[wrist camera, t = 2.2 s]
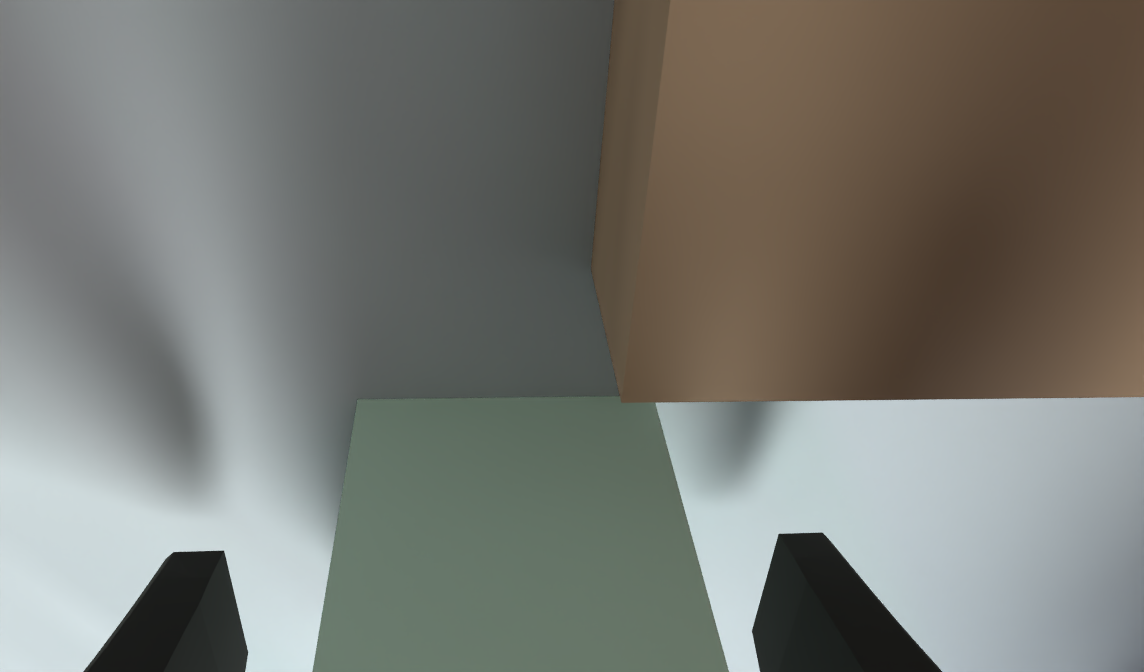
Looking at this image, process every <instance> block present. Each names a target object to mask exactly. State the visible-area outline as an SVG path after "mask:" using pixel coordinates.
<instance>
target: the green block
mask: <svg viewBox="0 0 1144 672" xmlns="http://www.w3.org/2000/svg"><path fill="white" fill-rule="evenodd" d="M313 672H729V671H728V667H727V663H726V660H725V656H724V652H723V649H722V645H721V641H720V638H719V634H718V630H717V627H716V623H715V619H714V616H713V612H712V609H711V605H710V601H709V598H708V594H707V590H706V587H705V583H704V579H703V576H702V572H701V568H700V565H699V561H698V558H697V554H696V550H695V547H694V543H693V539H692V536H691V532H690V528H689V525H688V521H687V517H686V514H685V510H684V506H683V503H682V499H681V496H680V492H679V488H678V485H677V481H676V477H675V474H674V470H673V466H672V463H671V459H670V455H669V452H668V448H667V445H666V441H665V437H664V434H663V430H662V426H661V423H660V419H659V415H658V412H657V408H656V404H655V402H648V403H621V400H620V396H586V397H503V398H419V399H357V405H356V411H355V417H354V423H353V429H352V436H351V442H350V448H349V454H348V460H347V466H346V472H345V478H344V484H343V490H342V496H341V502H340V508H339V514H338V521H337V527H336V533H335V539H334V545H333V551H332V557H331V563H330V569H329V575H328V581H327V587H326V593H325V599H324V605H323V612H322V618H321V624H320V630H319V636H318V642H317V648H316V654H315V660H314V666H313Z"/></svg>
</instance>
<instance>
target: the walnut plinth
mask: <svg viewBox="0 0 1144 672" xmlns="http://www.w3.org/2000/svg"><path fill="white" fill-rule="evenodd" d="M591 272H592V276H593V281H594V285H595V289H596V294H597V298H598V303H599V307H600V311H601V316H602V320H603V325H604V329H605V334H606V338H607V342H608V347H609V351H610V356H611V360H612V364H613V369H614V373H615V378H616V382H617V386H618V391H619V395H620V400H621V403H648V402H737V401H827V400H916V399H1006V398H1095V397H1144V0H615V1H614V12H613V23H612V35H611V46H610V57H609V69H608V80H607V91H606V103H605V114H604V125H603V137H602V148H601V159H600V171H599V182H598V194H597V205H596V216H595V228H594V239H593V250H592V262H591Z"/></svg>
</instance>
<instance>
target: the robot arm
mask: <svg viewBox="0 0 1144 672" xmlns="http://www.w3.org/2000/svg"><path fill="white" fill-rule="evenodd" d="M752 633H753V638H754V643H755V648H756V653H757V658H758V663H759V668H760V672H942V671H941V670H940V669H939V667H938V666H937V665H936V664H935V663H934V662H933V661H932V660H931V659H930V657H929V656H928V655H927V654H926V653H925V652H924V651H923V650H922V649H921V648H920V646H919V645H918V644H917V643H916V642H915V641H914V640H913V639H912V637H911V636H910V635H909V634H908V633H907V632H906V631H905V629H904V628H903V627H902V626H901V625H900V624H899V623H898V621H897V620H896V619H895V618H894V617H893V616H892V614H891V613H890V612H889V611H888V610H887V608H886V607H885V606H884V605H883V604H882V603H881V601H880V600H879V599H878V598H877V597H876V596H875V594H874V593H873V592H872V591H871V590H870V588H869V587H868V586H867V585H866V584H865V582H864V581H863V580H862V579H861V578H860V576H859V575H858V574H857V573H856V572H855V570H854V569H853V568H852V567H851V565H850V564H849V563H848V562H847V561H846V559H845V558H844V557H843V556H842V555H841V553H840V552H839V551H838V550H837V549H836V547H835V546H834V545H833V544H832V543H831V541H830V540H829V539H828V538H827V537H826V536H825V535H824V534H823V533H794V534H779V535H778V539H777V542H776V546H775V550H774V553H773V557H772V561H771V564H770V568H769V571H768V575H767V579H766V582H765V586H764V589H763V593H762V597H761V600H760V604H759V608H758V611H757V615H756V618H755V622H754V626H753V629H752ZM247 656H248V650H247V646H246V642H245V638H244V633H243V629H242V625H241V621H240V616H239V612H238V608H237V604H236V599H235V595H234V591H233V587H232V582H231V578H230V574H229V570H228V566H227V561H226V557H225V553H224V551H198V552H173V553H172V554H171V555H170V556H169V557H167V558H166V559H165V561H164V562H163V564H162V565H161V567H160V568H159V570H158V571H157V572H156V574H155V575H154V577H153V578H152V580H151V581H150V582H149V584H148V585H147V587H146V588H145V589H144V591H143V592H142V594H141V595H140V597H139V598H138V599H137V601H136V602H135V604H134V605H133V606H132V608H131V609H130V611H129V612H128V613H127V615H126V616H125V617H124V619H123V620H122V622H121V623H120V624H119V626H118V627H117V628H116V630H115V631H114V632H113V634H112V635H111V636H110V638H109V639H108V640H107V642H106V643H105V644H104V646H103V647H102V648H101V650H100V651H99V652H98V654H97V655H96V656H95V658H94V659H93V660H92V661H91V663H90V664H89V665H88V667H87V668H86V669H85V670H84V672H245V669H246V662H247Z"/></svg>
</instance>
